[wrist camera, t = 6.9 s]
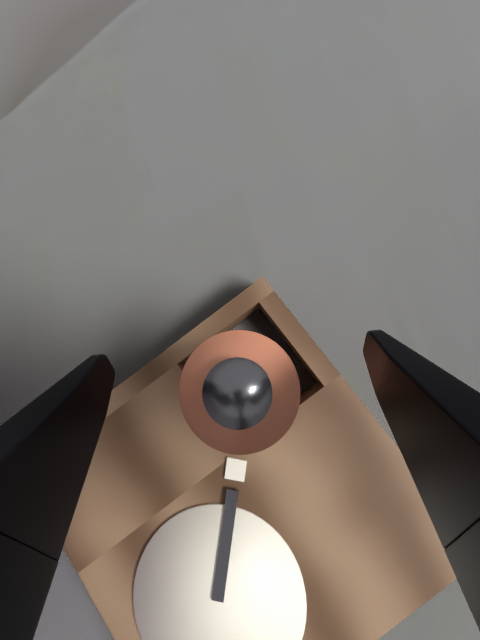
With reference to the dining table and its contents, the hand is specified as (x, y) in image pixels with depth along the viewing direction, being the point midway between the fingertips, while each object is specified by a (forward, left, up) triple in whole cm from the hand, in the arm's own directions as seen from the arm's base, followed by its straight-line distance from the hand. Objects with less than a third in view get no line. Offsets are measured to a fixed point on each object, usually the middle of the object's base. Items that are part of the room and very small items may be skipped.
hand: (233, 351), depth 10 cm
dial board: (-6, -7, -11) cm, 14 cm away
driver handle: (-1, -1, -11) cm, 11 cm away
